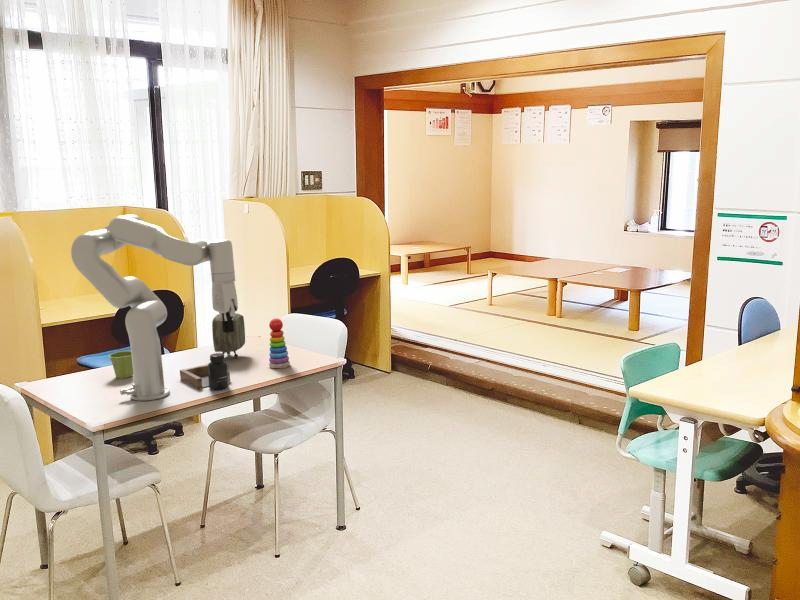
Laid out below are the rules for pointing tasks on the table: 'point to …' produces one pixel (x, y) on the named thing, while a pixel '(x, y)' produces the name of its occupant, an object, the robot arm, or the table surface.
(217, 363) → the supplement bottle
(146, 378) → the robot arm
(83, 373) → the table surface
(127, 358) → the plant pot
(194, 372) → the u rest
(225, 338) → the tabletop clock
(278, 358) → the stacking toy
